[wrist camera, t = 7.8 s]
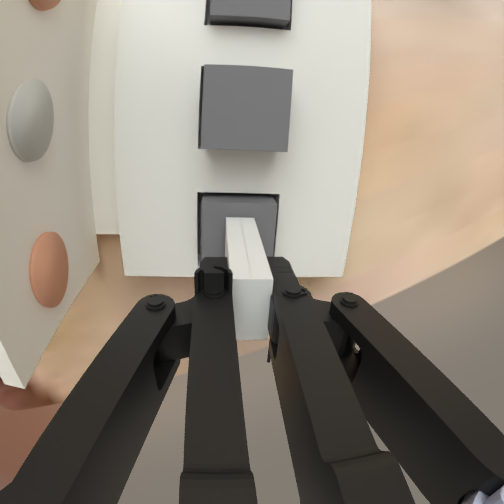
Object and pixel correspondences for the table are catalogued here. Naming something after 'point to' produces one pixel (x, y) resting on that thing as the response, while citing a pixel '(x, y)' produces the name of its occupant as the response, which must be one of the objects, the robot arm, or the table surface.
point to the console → (238, 161)
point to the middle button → (246, 107)
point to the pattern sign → (52, 165)
